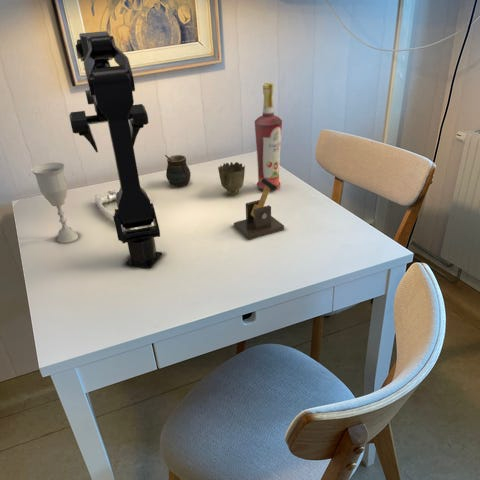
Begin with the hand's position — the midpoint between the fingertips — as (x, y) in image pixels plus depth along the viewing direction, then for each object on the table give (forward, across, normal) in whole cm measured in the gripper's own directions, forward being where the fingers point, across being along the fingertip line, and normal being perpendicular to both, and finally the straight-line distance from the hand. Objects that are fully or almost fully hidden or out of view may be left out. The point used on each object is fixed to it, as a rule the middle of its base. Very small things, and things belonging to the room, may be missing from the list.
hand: (114, 149), depth 129 cm
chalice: (+12, +16, +19) cm, 27 cm away
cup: (+14, -30, +9) cm, 34 cm away
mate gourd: (+17, -17, -3) cm, 24 cm away
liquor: (+14, -41, +10) cm, 44 cm away
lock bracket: (+8, -30, +31) cm, 44 cm away
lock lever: (0, -30, +30) cm, 42 cm away
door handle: (+14, +1, +10) cm, 17 cm away
